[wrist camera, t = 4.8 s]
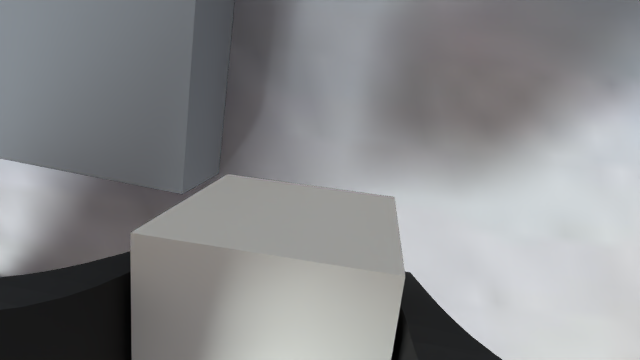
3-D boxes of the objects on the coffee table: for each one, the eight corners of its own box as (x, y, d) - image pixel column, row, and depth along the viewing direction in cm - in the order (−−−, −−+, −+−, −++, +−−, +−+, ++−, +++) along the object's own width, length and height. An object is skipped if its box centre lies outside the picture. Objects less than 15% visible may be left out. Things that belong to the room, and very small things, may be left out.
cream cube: (370, 347, 13) (366, 503, 8) (220, 320, 14) (132, 451, 9) (394, 197, 12) (405, 275, 7) (227, 174, 12) (129, 232, 7)
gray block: (221, 171, 19) (182, 194, 16) (31, 135, 20) (-51, 148, 17) (243, -61, 17) (202, -103, 13) (24, -89, 18) (-73, -135, 14)
